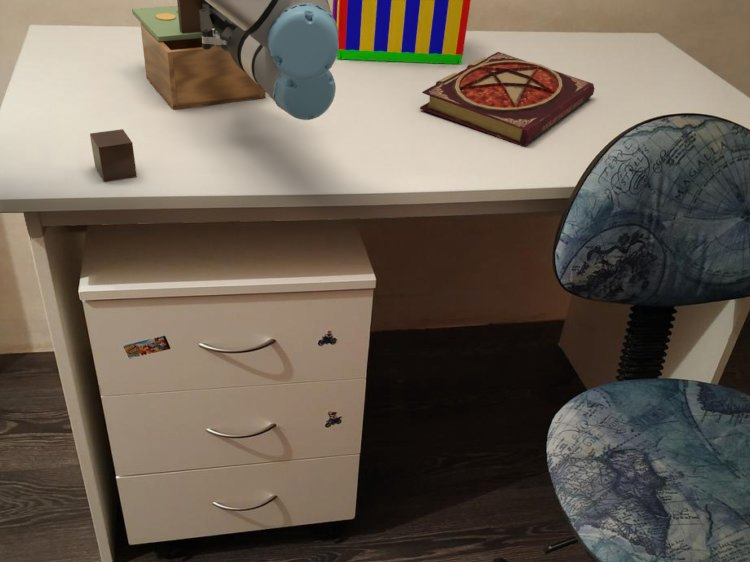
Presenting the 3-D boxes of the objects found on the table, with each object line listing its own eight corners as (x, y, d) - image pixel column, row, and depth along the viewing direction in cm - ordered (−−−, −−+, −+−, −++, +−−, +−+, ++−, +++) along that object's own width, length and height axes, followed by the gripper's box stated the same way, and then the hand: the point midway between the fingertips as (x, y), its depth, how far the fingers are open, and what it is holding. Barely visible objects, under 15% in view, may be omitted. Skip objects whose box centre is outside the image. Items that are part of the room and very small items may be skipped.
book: (525, 150, 130) (532, 121, 127) (415, 109, 137) (419, 80, 134) (590, 101, 149) (598, 74, 146) (491, 67, 156) (496, 41, 153)
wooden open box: (172, 109, 129) (167, 52, 123) (146, 77, 137) (140, 22, 132) (265, 98, 135) (264, 43, 130) (234, 68, 144) (232, 15, 138)
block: (103, 181, 109) (98, 147, 106) (95, 167, 112) (89, 133, 109) (136, 176, 111) (132, 142, 108) (127, 162, 114) (122, 128, 111)
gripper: (220, 85, 110) (167, 29, 125) (307, 76, 116) (245, 23, 131) (218, 29, 105) (162, -23, 120) (308, 21, 111) (244, -27, 126)
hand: (205, 1), depth 125 cm, fingers closed
